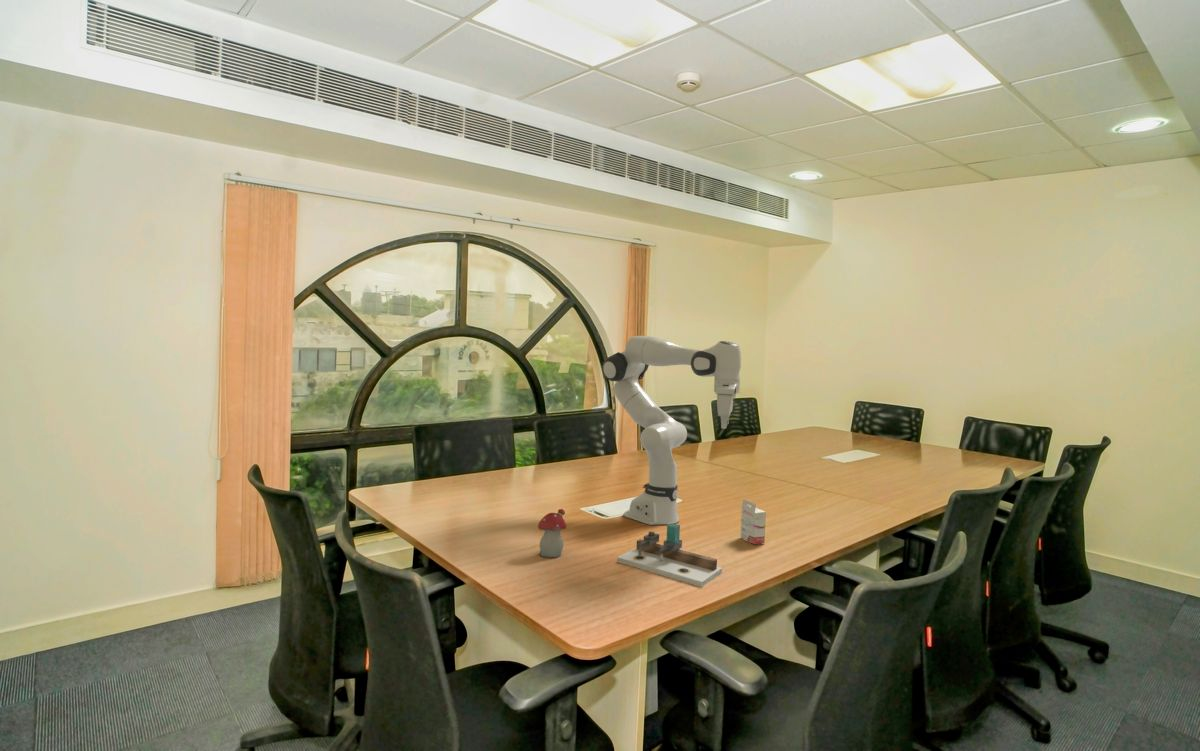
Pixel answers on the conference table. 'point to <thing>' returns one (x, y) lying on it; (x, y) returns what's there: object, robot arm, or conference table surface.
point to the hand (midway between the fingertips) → (724, 426)
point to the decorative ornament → (552, 534)
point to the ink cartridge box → (752, 523)
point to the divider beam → (674, 553)
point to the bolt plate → (669, 567)
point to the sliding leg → (671, 540)
